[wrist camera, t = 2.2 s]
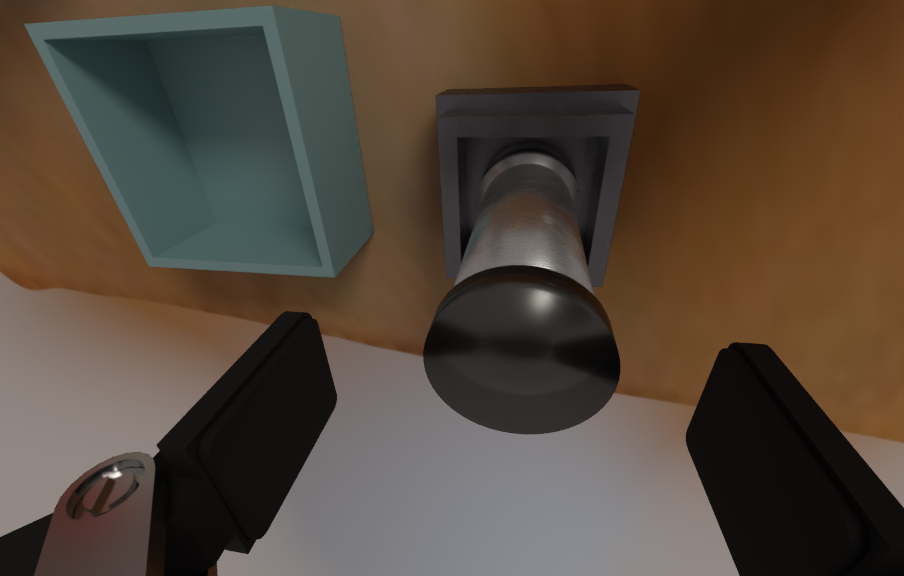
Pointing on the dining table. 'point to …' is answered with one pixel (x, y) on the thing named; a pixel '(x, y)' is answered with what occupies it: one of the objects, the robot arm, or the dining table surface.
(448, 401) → the pepper mill
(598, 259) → the square recessed block
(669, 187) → the dining table surface
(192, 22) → the bin
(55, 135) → the dining table surface
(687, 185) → the dining table surface
